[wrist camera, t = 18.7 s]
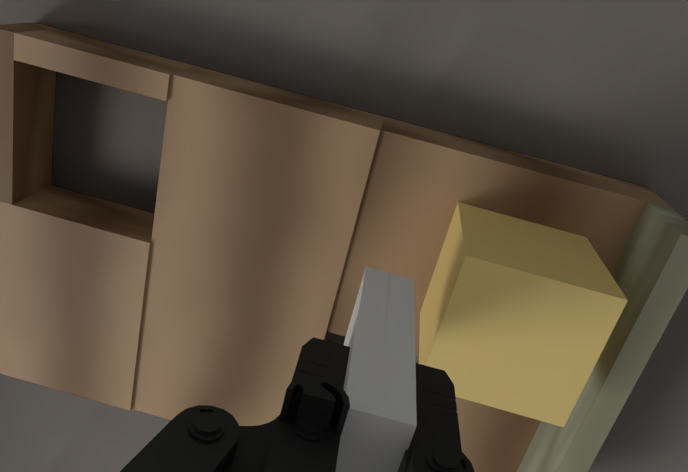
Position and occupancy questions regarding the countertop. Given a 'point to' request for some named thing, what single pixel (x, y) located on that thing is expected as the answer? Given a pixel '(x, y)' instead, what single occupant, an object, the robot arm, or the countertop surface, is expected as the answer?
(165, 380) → the trap deck
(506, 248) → the cube
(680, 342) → the countertop surface
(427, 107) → the countertop surface
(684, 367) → the countertop surface
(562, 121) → the countertop surface
